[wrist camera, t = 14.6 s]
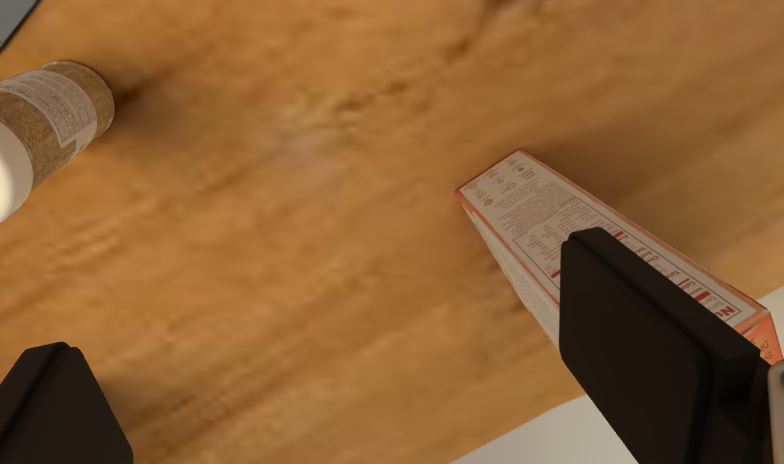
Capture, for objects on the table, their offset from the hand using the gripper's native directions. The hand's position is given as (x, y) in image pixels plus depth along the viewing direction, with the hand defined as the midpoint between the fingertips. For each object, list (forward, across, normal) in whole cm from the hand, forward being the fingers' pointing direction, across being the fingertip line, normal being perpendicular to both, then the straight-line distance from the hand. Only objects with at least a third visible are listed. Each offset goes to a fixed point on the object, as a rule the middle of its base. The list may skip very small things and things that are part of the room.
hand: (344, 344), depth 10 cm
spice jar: (+24, +12, -2) cm, 28 cm away
